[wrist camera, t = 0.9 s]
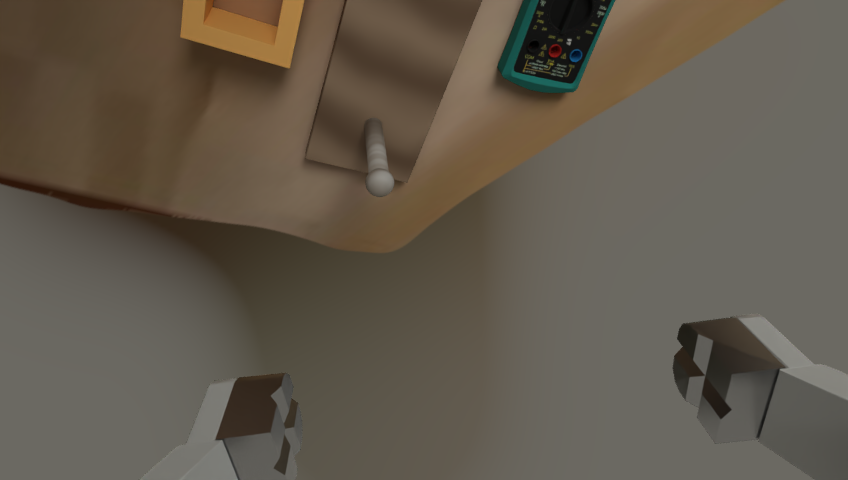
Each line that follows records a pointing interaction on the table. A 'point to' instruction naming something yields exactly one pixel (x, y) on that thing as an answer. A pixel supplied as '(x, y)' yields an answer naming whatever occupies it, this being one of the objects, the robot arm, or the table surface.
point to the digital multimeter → (553, 43)
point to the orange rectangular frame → (243, 31)
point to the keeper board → (387, 84)
